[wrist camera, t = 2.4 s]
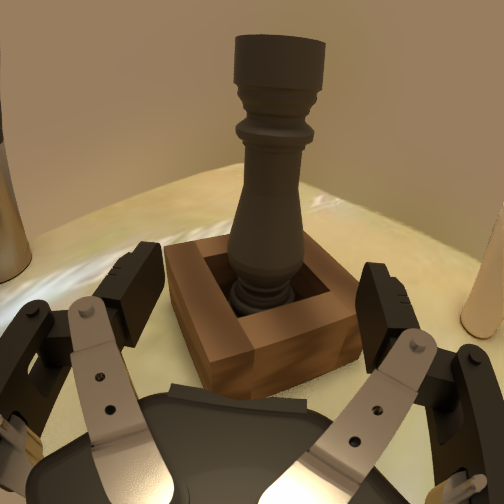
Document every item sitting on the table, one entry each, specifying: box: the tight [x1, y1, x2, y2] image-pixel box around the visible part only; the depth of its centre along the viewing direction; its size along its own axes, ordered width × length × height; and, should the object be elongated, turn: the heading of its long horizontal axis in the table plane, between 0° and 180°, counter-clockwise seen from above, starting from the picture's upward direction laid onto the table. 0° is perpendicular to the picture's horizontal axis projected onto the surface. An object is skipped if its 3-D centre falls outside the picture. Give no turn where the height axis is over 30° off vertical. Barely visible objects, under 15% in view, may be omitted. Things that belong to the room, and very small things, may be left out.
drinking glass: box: [461, 202, 504, 338], centre depth 27 cm, size 7×7×15 cm
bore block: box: [164, 231, 363, 401], centre depth 28 cm, size 14×14×7 cm
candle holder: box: [227, 34, 326, 318], centre depth 24 cm, size 6×6×25 cm
